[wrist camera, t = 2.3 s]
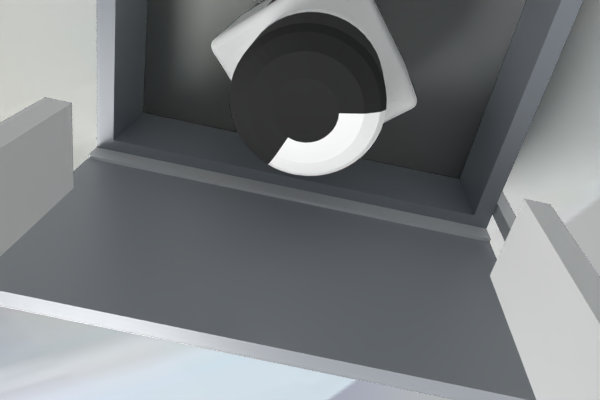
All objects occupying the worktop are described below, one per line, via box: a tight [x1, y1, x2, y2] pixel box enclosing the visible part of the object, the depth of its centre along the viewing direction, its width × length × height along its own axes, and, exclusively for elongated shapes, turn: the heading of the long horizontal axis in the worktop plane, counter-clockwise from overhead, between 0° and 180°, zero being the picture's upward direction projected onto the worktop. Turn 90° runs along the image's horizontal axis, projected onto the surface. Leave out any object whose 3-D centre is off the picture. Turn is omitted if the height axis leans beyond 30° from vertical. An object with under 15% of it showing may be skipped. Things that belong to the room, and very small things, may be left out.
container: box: [211, 0, 417, 176], centre depth 27 cm, size 8×8×13 cm
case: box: [0, 0, 583, 400], centre depth 25 cm, size 17×25×18 cm
